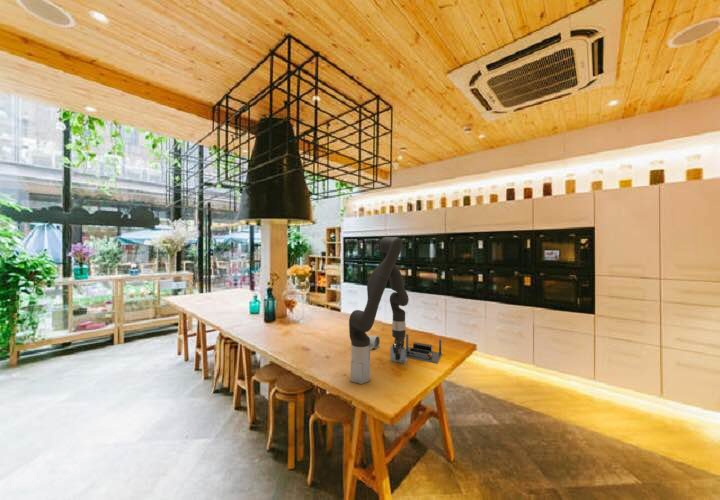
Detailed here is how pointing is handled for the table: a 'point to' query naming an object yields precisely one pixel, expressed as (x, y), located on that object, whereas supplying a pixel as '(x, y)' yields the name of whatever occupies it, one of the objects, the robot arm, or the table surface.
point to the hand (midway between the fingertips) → (398, 358)
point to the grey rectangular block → (401, 355)
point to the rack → (423, 351)
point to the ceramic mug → (374, 341)
